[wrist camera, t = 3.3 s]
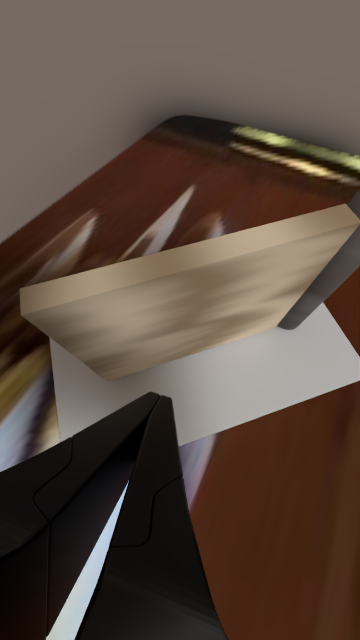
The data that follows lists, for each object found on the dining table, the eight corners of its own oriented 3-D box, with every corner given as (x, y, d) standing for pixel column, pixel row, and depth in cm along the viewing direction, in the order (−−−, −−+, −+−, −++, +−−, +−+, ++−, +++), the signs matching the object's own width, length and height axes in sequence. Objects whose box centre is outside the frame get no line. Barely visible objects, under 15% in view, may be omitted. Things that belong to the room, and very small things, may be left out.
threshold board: (284, 259, 22) (289, 251, 21) (361, 379, 17) (371, 375, 16) (53, 325, 19) (47, 319, 18) (72, 485, 15) (65, 488, 14)
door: (282, 286, 19) (362, 160, 11) (305, 325, 18) (421, 217, 9) (99, 340, 17) (16, 243, 9) (108, 389, 16) (22, 329, 7)
